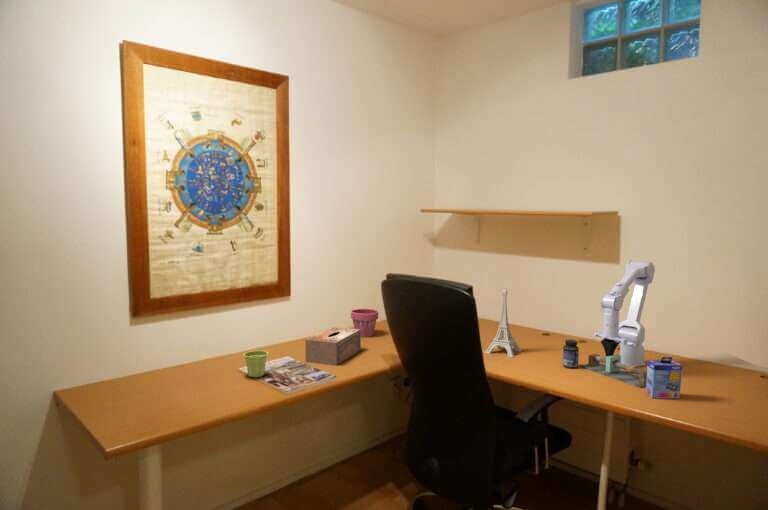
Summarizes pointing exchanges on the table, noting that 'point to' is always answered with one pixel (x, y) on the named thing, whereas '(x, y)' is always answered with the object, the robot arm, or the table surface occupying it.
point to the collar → (609, 363)
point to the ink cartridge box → (663, 378)
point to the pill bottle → (570, 354)
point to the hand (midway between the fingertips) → (609, 358)
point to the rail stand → (619, 375)
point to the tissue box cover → (333, 345)
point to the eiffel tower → (507, 339)
